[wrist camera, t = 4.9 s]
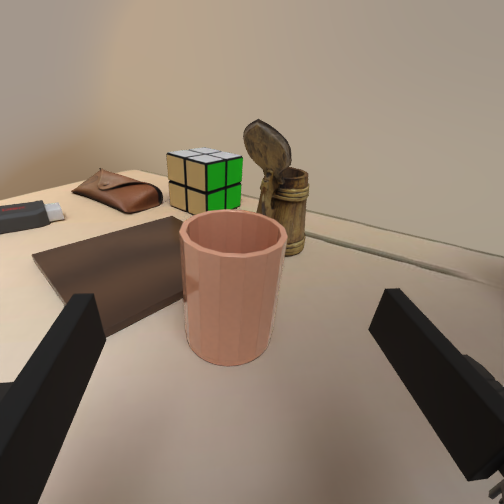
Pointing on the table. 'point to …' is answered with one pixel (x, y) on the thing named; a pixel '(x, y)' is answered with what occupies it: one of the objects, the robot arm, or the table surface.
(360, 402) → the table surface
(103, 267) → the walnut board
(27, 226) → the usb drive
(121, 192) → the sunglasses case
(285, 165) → the wooden mug
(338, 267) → the table surface
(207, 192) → the puzzle cube
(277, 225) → the cup
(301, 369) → the table surface
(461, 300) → the table surface
